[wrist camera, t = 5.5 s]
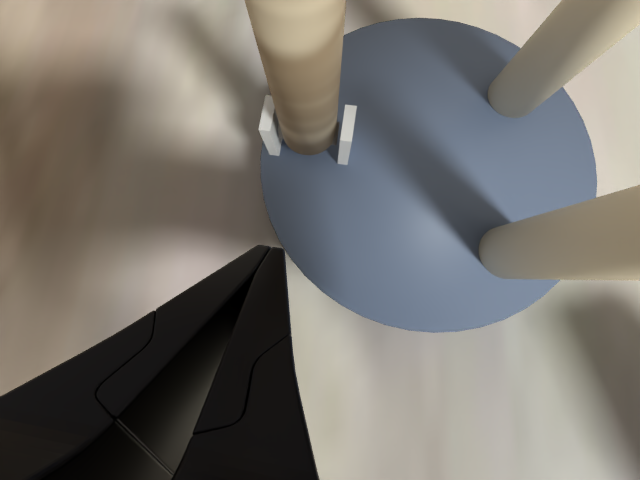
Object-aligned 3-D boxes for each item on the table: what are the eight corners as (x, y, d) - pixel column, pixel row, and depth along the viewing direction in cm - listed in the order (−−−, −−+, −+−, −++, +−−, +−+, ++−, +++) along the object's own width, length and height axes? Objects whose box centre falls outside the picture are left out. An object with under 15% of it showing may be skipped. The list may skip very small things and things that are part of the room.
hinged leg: (333, 165, 14) (409, -872, 1) (277, 158, 14) (-96, -853, 2) (340, 115, 15) (446, -960, 2) (287, 108, 15) (67, -934, 2)
